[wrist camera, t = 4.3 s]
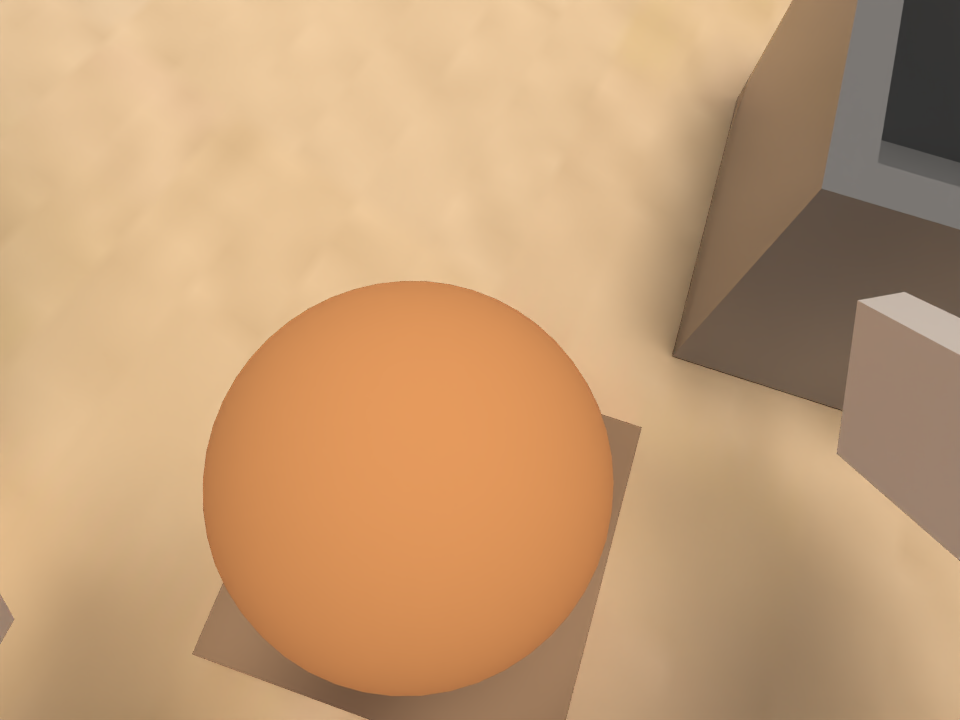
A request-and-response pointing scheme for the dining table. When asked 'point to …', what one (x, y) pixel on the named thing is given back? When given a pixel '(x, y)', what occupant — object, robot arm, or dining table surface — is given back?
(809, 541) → the dining table surface
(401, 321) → the ball
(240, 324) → the dining table surface
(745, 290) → the square storage bin
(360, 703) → the tee
